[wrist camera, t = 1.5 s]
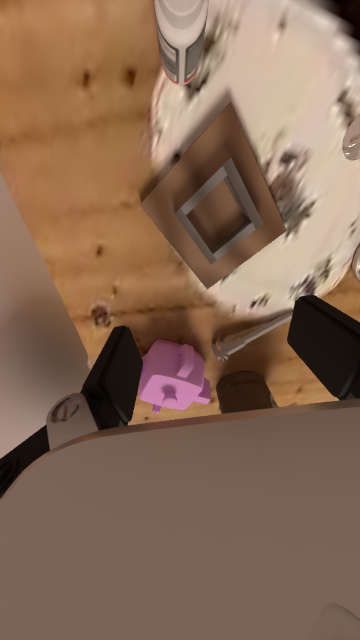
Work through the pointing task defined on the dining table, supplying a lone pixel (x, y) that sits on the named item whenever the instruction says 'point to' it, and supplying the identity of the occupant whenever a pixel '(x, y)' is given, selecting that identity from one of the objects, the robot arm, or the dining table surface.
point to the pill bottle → (181, 36)
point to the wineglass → (352, 141)
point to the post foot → (216, 202)
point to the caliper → (249, 337)
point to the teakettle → (173, 376)
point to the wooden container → (244, 393)
